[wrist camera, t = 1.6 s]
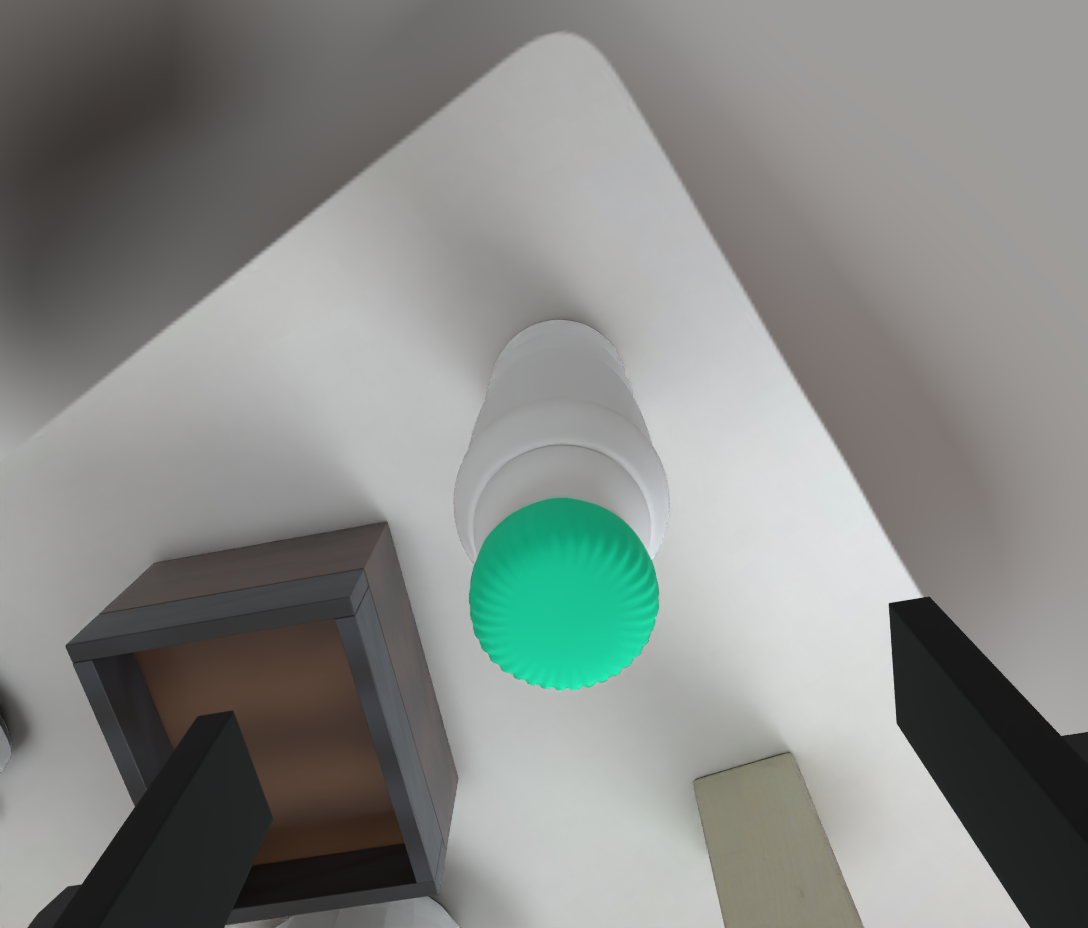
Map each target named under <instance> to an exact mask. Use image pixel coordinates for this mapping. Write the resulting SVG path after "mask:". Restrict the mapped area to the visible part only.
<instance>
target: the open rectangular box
mask: <svg viewBox="0 0 1088 928" xmlns="http://www.w3.org/2000/svg"><path fill="white" fill-rule="evenodd" d="M66 649H67V651H68V653H69V656H70V658H71V660H72V662H74V663H73V666H74V668H75V670H76V673H77V675H78V677H79V680H80V682H81V684H82V687H83V689H84V691H85V693H86V696H87V698H88V700H89V703H90V705H91V707H92V709H93V712H94V714H95V716H96V719H97V721H98V723H99V725H100V728H101V730H102V732H103V735H104V737H105V739H106V742H107V744H108V746H109V748H110V751H111V753H112V755H113V758H114V760H115V762H116V764H117V767H118V769H119V771H120V774H121V776H122V778H123V780H124V783H125V785H126V787H127V790H128V792H129V794H130V796H131V799H132V801H133V803H134V806H136V805H137V803H138V802H139V801H140V799H141V798H142V796H143V795H144V793H145V792H146V790H147V789H148V787H149V786H150V785H151V783H152V782H153V780H154V779H155V777H156V776H157V774H158V773H159V771H160V770H161V768H162V767H163V766H164V764H165V763H166V761H167V760H168V758H169V757H170V755H171V754H172V752H173V751H174V750H175V748H176V747H177V745H178V744H179V742H180V741H181V739H182V738H183V736H184V735H185V734H186V732H187V731H188V729H189V728H190V726H191V725H192V723H193V722H194V720H195V719H196V718H197V716H201V715H207V714H213V713H219V712H225V711H231V710H234V713H235V716H236V718H237V721H238V724H239V727H240V729H241V732H242V735H243V737H244V740H245V743H246V746H247V748H248V751H249V754H250V756H251V759H252V762H253V765H254V767H255V770H256V773H257V775H258V778H259V781H260V784H261V786H262V789H263V792H264V794H265V797H266V800H267V803H268V805H269V808H270V811H271V813H272V816H273V821H272V823H271V825H270V827H269V830H268V832H267V834H266V836H265V838H264V841H263V843H262V845H261V847H260V849H259V852H258V854H257V856H256V858H255V861H254V863H253V865H252V867H251V869H250V872H249V874H248V876H247V878H246V881H245V883H244V885H243V887H242V889H241V892H240V894H239V896H238V898H237V901H236V903H235V905H234V907H233V909H232V912H231V914H230V916H229V918H228V920H227V923H226V925H230V924H237V923H244V922H251V921H258V920H265V919H272V918H279V917H286V916H293V915H300V914H307V913H314V912H322V911H329V910H336V909H343V908H350V907H357V906H364V905H371V904H378V903H385V902H392V901H399V900H406V899H413V898H420V897H427V896H434V895H439V892H440V886H441V880H442V874H443V868H444V862H445V855H446V850H447V844H448V837H449V831H450V825H451V819H452V813H453V807H454V801H455V795H456V789H457V783H458V776H457V772H456V768H455V765H454V761H453V757H452V754H451V750H450V747H449V743H448V739H447V736H446V732H445V728H444V725H443V721H442V718H441V714H440V710H439V707H438V703H437V699H436V696H435V692H434V689H433V685H432V681H431V678H430V674H429V670H428V667H427V663H426V660H425V656H424V652H423V649H422V645H421V642H420V638H419V634H418V631H417V627H416V623H415V620H414V616H413V613H412V609H411V605H410V602H409V598H408V594H407V591H406V587H405V584H404V580H403V576H402V573H401V569H400V565H399V562H398V558H397V555H396V551H395V547H394V544H393V540H392V536H391V533H390V529H389V526H388V522H383V523H378V524H372V525H366V526H361V527H355V528H349V529H344V530H338V531H332V532H327V533H321V534H315V535H310V536H304V537H298V538H293V539H287V540H282V541H276V542H270V543H265V544H259V545H253V546H248V547H242V548H236V549H231V550H225V551H219V552H214V553H208V554H202V555H197V556H191V557H185V558H180V559H174V560H169V561H163V562H157V563H154V564H153V565H152V566H150V567H149V568H148V569H147V570H146V571H145V572H144V573H143V574H142V575H141V576H140V577H139V578H137V579H136V580H135V581H134V582H133V583H132V584H131V585H130V586H129V587H128V588H127V589H126V590H124V591H123V592H122V593H121V594H120V595H119V596H118V597H117V598H116V599H115V600H114V601H113V602H111V603H110V604H109V605H108V606H107V607H106V608H105V609H104V610H103V611H102V612H101V613H100V614H99V615H98V616H97V617H96V618H94V619H93V620H92V621H91V622H90V623H89V624H88V625H87V626H86V627H85V628H84V629H83V630H81V631H80V632H79V633H78V634H77V635H76V636H75V637H74V638H73V639H72V640H71V641H70V642H68V643H67V644H66Z"/></svg>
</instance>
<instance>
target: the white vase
mask: <svg viewBox="0 0 1088 928" xmlns="http://www.w3.org/2000/svg"><path fill="white" fill-rule="evenodd" d="M276 928H460V927H459V926H458V925H457V924H456V922H455V921H454V920H453V919H452V918H451V917H450V916H449V914H448V913H447V912H446V911H445V910H444V909H443V908H442V906H441V905H440V904H438V903H437V902H436V901H434V900H433V899H431V898H430V897H429V896H427V897H420V898H413V899H406V900H399V901H392V902H385V903H378V904H371V905H364V906H357V907H350V908H343V909H336V910H329V911H322V912H314V913H307V914H300V915H293V916H292V917H290V918H289V919H288V920H286V921H285V922H283V923H282V924H280V925H279V926H277V927H276Z"/></svg>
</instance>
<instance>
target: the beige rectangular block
mask: <svg viewBox="0 0 1088 928" xmlns="http://www.w3.org/2000/svg"><path fill="white" fill-rule="evenodd" d="M694 790H695V795H696V799H697V804H698V809H699V813H700V818H701V822H702V826H703V831H704V836H705V841H706V845H707V849H708V854H709V858H710V863H711V867H712V872H713V876H714V881H715V886H716V890H717V894H718V899H719V903H720V908H721V913H722V917H723V922H724V926H725V928H864V926H863V924H862V921H861V919H860V916H859V914H858V911H857V909H856V907H855V904H854V902H853V899H852V897H851V894H850V892H849V890H848V887H847V885H846V882H845V880H844V877H843V875H842V872H841V870H840V867H839V865H838V862H837V860H836V857H835V855H834V853H833V850H832V848H831V846H830V843H829V841H828V838H827V836H826V833H825V831H824V828H823V826H822V824H821V821H820V819H819V816H818V814H817V811H816V809H815V806H814V804H813V801H812V799H811V796H810V794H809V792H808V789H807V787H806V784H805V782H804V779H803V777H802V774H801V772H800V769H799V767H798V765H797V762H796V760H795V758H794V756H793V755H792V754H790V753H786V754H782V755H778V756H775V757H771V758H768V759H765V760H761V761H758V762H755V763H751V764H747V765H743V766H741V767H737V768H734V769H730V770H727V771H724V772H720V773H717V774H713V775H710V776H707V777H703V778H700V779H697V780H695V781H694Z"/></svg>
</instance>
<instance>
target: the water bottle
mask: <svg viewBox="0 0 1088 928" xmlns="http://www.w3.org/2000/svg"><path fill="white" fill-rule="evenodd" d="M669 509H670V497H669V488H668V482H667V478H666V474H665V471H664V468H663V465H662V463H661V461H660V458H659V456H658V454H657V452H656V451H655V449H654V447H653V446H652V442H651V438H650V435H649V432H648V429H647V426H646V423H645V421H644V418H643V416H642V413H641V411H640V409H639V406H638V404H637V402H636V400H635V398H634V396H633V392H632V388H631V385H630V382H629V380H628V378H627V376H626V372H625V369H624V366H623V363H622V361H621V359H620V357H619V355H618V353H617V351H616V350H615V348H614V347H613V346H612V345H611V343H610V342H609V341H608V340H607V339H606V338H605V337H604V336H603V335H601V334H600V333H599V332H597V331H596V330H594V329H592V328H590V327H588V326H586V325H584V324H581V323H578V322H574V321H568V320H550V321H545V322H541V323H537V324H535V325H532V326H530V327H528V328H526V329H524V330H523V331H521V332H520V333H518V334H517V335H516V336H515V337H514V338H513V339H511V341H510V342H509V343H508V344H507V345H506V346H505V348H504V349H503V350H502V352H501V354H500V355H499V357H498V359H497V362H496V364H495V367H494V370H493V374H492V378H491V381H490V383H489V386H488V389H487V393H486V397H485V401H484V403H483V406H482V408H481V410H480V413H479V415H478V418H477V421H476V424H475V427H474V430H473V433H472V437H471V441H470V445H469V449H468V451H467V453H466V455H465V457H464V459H463V461H462V464H461V466H460V469H459V472H458V475H457V479H456V484H455V490H454V516H455V522H456V527H457V531H458V534H459V537H460V540H461V542H462V545H463V547H464V549H465V551H466V553H467V555H468V556H469V558H470V560H471V561H472V563H473V564H474V568H473V572H472V577H471V585H470V592H469V603H470V616H471V620H472V622H473V629H474V633H475V636H476V637H477V638H478V639H479V641H480V644H481V647H482V649H483V650H484V651H485V652H487V653H488V654H489V657H490V660H491V661H492V662H494V663H497V664H499V665H500V667H501V670H502V671H504V672H506V673H512V674H513V675H514V677H515V678H516V679H519V680H525V681H527V683H528V684H530V685H540V686H541V687H542V688H545V689H548V688H552V687H553V688H555V689H557V690H564V689H567V688H568V689H571V690H578V689H580V688H581V687H591V686H593V685H594V684H595V683H596V682H605V681H607V679H608V678H609V676H616V675H618V674H619V673H620V671H621V669H622V668H625V667H628V666H630V665H631V663H632V661H633V658H635V657H637V656H639V655H640V654H641V651H642V648H643V646H644V645H645V644H647V643H648V641H649V638H650V632H651V631H652V630H653V628H654V626H655V617H656V616H657V613H658V610H659V600H658V596H659V589H658V582H657V578H656V573H655V569H654V565H653V562H652V560H653V559H654V557H655V555H656V554H657V552H658V550H659V548H660V546H661V543H662V541H663V538H664V535H665V532H666V528H667V524H668V519H669Z"/></svg>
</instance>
